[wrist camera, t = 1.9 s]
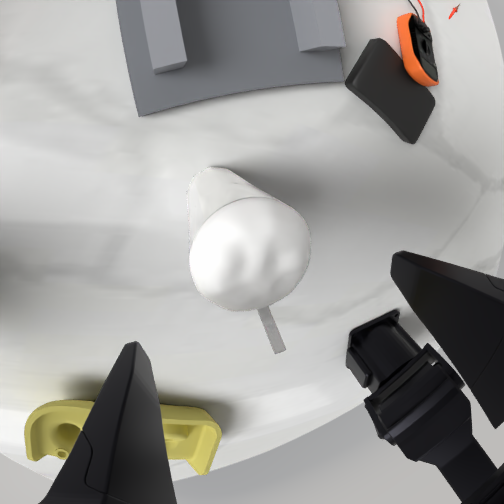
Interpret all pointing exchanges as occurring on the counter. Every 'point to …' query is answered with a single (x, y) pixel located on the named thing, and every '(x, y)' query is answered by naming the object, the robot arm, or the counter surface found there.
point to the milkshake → (244, 245)
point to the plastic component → (76, 412)
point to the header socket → (226, 47)
